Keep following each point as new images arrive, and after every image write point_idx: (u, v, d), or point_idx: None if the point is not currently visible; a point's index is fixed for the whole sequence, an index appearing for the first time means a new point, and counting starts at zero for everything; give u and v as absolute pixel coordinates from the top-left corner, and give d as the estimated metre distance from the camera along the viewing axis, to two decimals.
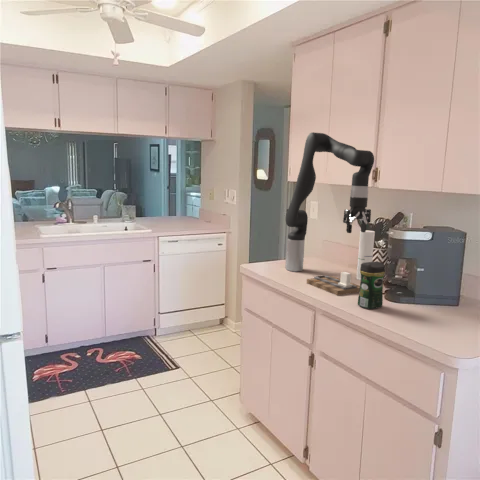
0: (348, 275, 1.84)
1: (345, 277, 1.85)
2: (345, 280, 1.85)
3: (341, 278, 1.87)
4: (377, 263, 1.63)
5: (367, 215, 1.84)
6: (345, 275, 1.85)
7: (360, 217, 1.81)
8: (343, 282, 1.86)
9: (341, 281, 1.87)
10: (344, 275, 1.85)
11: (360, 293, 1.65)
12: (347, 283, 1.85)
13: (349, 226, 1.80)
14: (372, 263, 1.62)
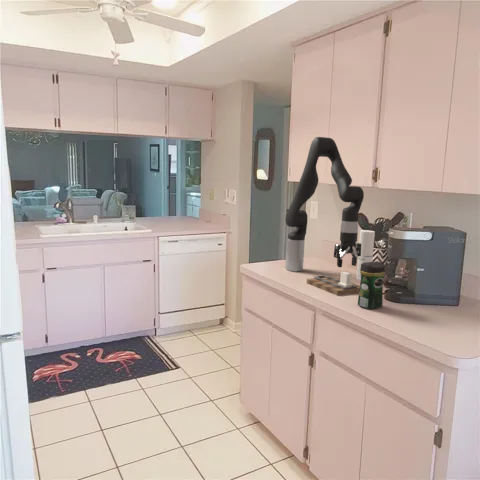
0: (348, 275, 1.84)
1: (345, 277, 1.85)
2: (345, 280, 1.85)
3: (341, 278, 1.87)
4: (377, 263, 1.63)
5: (357, 249, 1.87)
6: (345, 275, 1.85)
7: (350, 251, 1.84)
8: (343, 282, 1.86)
9: (341, 281, 1.87)
10: (344, 275, 1.85)
11: (360, 293, 1.65)
12: (347, 283, 1.85)
13: (339, 261, 1.82)
14: (372, 263, 1.62)
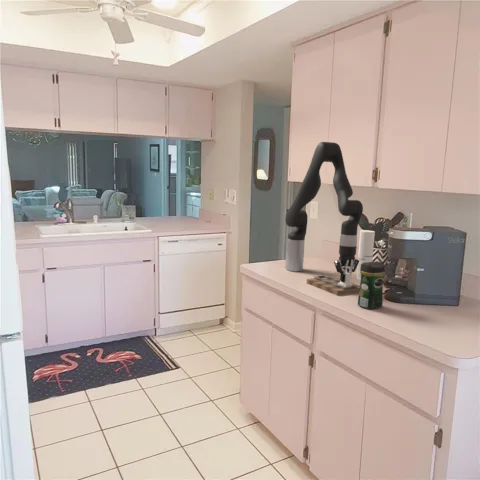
0: (348, 275, 1.84)
1: (345, 277, 1.85)
2: (345, 280, 1.85)
3: None
4: (377, 263, 1.63)
5: (354, 264, 1.87)
6: (345, 275, 1.85)
7: (348, 264, 1.84)
8: (343, 282, 1.86)
9: None
10: None
11: (360, 293, 1.65)
12: (347, 283, 1.85)
13: (343, 275, 1.85)
14: (372, 263, 1.62)
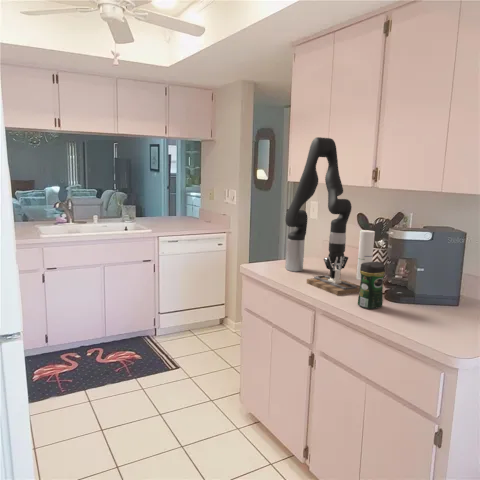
0: (337, 271, 1.90)
1: None
2: None
3: None
4: (377, 263, 1.63)
5: (343, 261, 1.93)
6: None
7: (337, 260, 1.90)
8: (333, 278, 1.92)
9: None
10: None
11: (360, 293, 1.65)
12: (336, 279, 1.91)
13: (332, 272, 1.91)
14: (372, 263, 1.62)
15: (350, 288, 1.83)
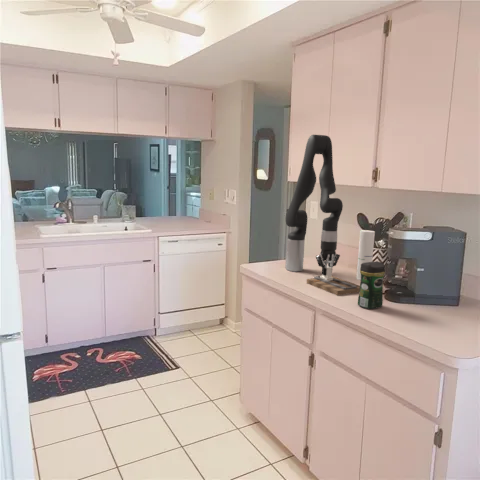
0: (329, 269, 1.95)
1: None
2: (326, 273, 1.96)
3: None
4: (377, 263, 1.63)
5: (335, 259, 1.98)
6: None
7: (329, 258, 1.95)
8: None
9: None
10: None
11: (360, 293, 1.65)
12: (328, 276, 1.96)
13: (324, 269, 1.96)
14: (372, 263, 1.62)
15: (350, 288, 1.83)
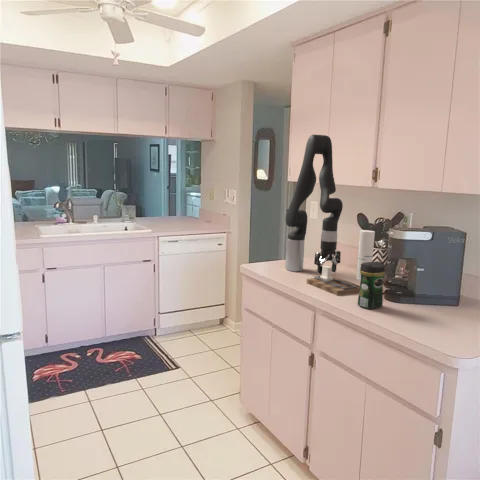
0: (329, 269, 1.96)
1: (326, 270, 1.96)
2: (326, 273, 1.96)
3: (323, 272, 1.98)
4: (377, 263, 1.63)
5: (337, 256, 1.99)
6: (326, 269, 1.96)
7: (330, 259, 1.96)
8: (324, 275, 1.97)
9: (323, 274, 1.98)
10: (325, 269, 1.96)
11: (360, 293, 1.65)
12: (328, 276, 1.96)
13: (320, 267, 1.94)
14: (372, 263, 1.62)
15: (350, 288, 1.83)
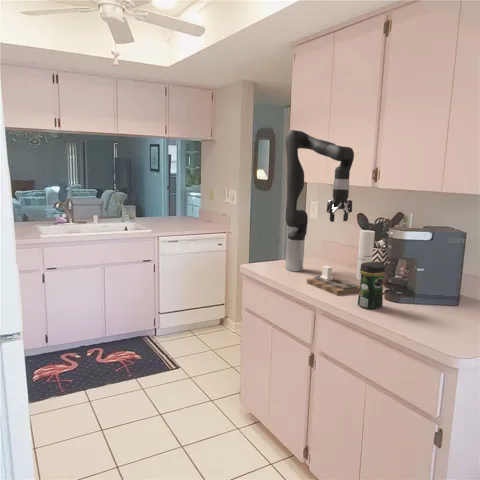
0: (329, 269, 1.96)
1: (326, 270, 1.96)
2: (326, 273, 1.96)
3: (323, 272, 1.98)
4: (377, 263, 1.63)
5: (349, 206, 2.03)
6: (326, 269, 1.96)
7: (342, 207, 2.00)
8: (324, 275, 1.97)
9: (323, 274, 1.98)
10: (325, 269, 1.96)
11: (360, 293, 1.65)
12: (328, 276, 1.96)
13: (332, 215, 1.98)
14: (372, 263, 1.62)
15: (350, 288, 1.83)
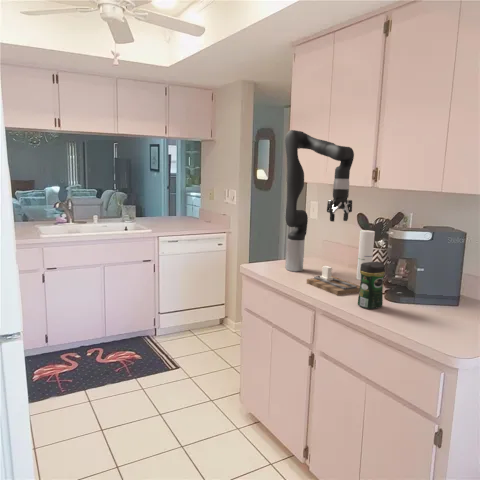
0: (329, 269, 1.96)
1: (326, 270, 1.96)
2: (326, 273, 1.96)
3: (323, 272, 1.98)
4: (377, 263, 1.63)
5: (349, 205, 2.03)
6: (326, 269, 1.96)
7: (342, 207, 2.00)
8: (324, 275, 1.97)
9: (323, 274, 1.98)
10: (325, 269, 1.96)
11: (360, 293, 1.65)
12: (328, 276, 1.96)
13: (332, 215, 1.98)
14: (372, 263, 1.62)
15: (350, 288, 1.83)
